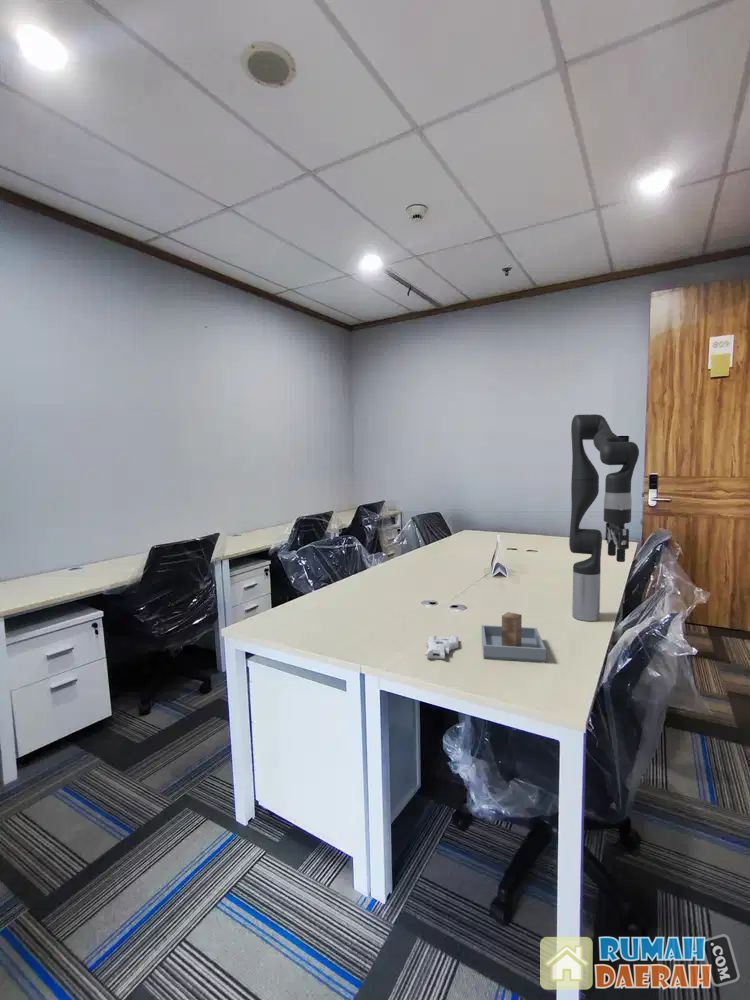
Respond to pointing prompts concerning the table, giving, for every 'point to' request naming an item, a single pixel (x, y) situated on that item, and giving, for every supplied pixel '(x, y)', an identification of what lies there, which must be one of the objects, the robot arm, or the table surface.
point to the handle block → (511, 629)
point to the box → (528, 651)
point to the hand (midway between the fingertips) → (616, 558)
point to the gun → (440, 646)
